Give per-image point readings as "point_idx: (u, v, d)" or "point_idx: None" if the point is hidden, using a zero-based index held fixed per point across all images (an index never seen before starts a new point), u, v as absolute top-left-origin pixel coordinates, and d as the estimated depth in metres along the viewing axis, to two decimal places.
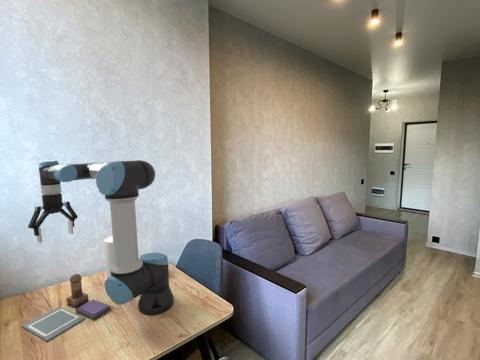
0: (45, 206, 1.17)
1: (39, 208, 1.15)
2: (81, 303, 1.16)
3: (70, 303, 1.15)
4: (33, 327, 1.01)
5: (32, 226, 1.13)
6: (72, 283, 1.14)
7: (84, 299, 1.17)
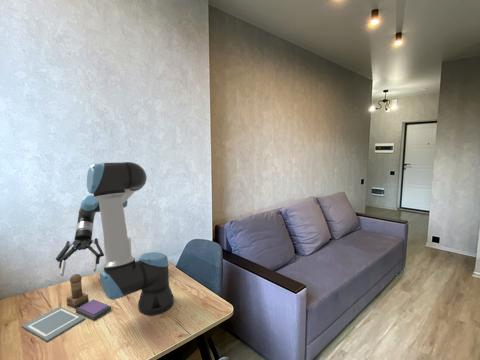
0: (74, 241, 1.29)
1: (68, 242, 1.28)
2: (81, 303, 1.16)
3: (70, 303, 1.15)
4: (33, 327, 1.01)
5: (57, 257, 1.23)
6: (72, 283, 1.14)
7: (84, 299, 1.17)
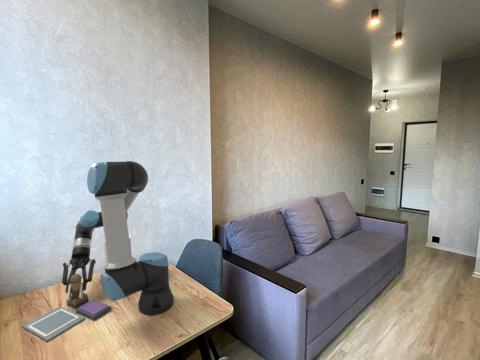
0: (70, 260, 1.22)
1: (64, 264, 1.20)
2: (81, 303, 1.16)
3: (70, 303, 1.15)
4: (33, 327, 1.01)
5: (63, 281, 1.15)
6: (72, 283, 1.14)
7: (84, 299, 1.17)
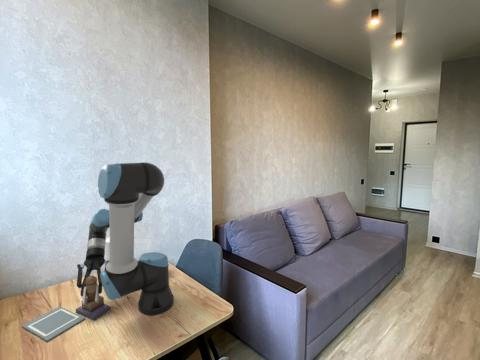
0: (84, 261, 1.16)
1: (79, 265, 1.14)
2: (97, 306, 1.10)
3: (85, 306, 1.09)
4: (33, 327, 1.01)
5: (78, 284, 1.09)
6: (87, 285, 1.08)
7: (100, 302, 1.11)
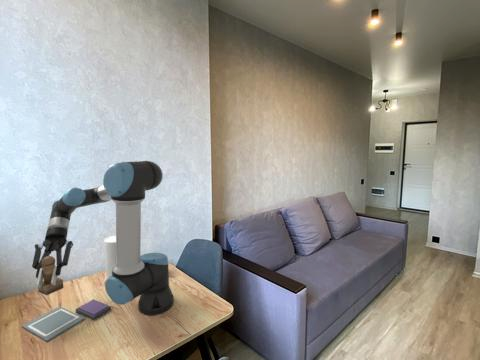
0: (43, 242, 1.07)
1: (36, 245, 1.05)
2: (54, 289, 1.01)
3: (41, 289, 1.00)
4: (33, 327, 1.01)
5: (33, 264, 1.01)
6: (44, 266, 0.99)
7: (58, 285, 1.02)
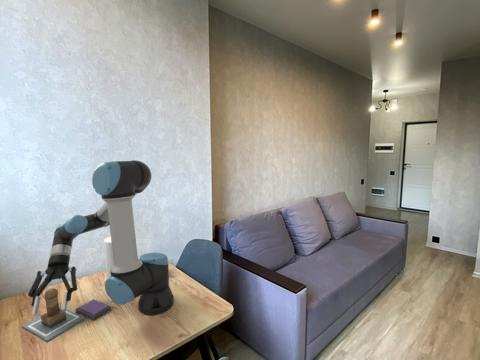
0: (46, 269, 1.08)
1: (39, 272, 1.07)
2: (57, 321, 1.03)
3: (45, 321, 1.01)
4: (33, 327, 1.01)
5: (29, 293, 1.02)
6: (47, 299, 1.01)
7: (61, 317, 1.04)
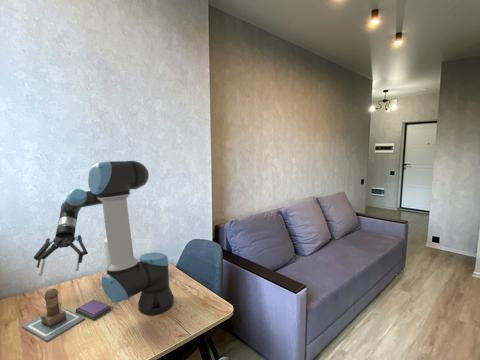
0: (54, 238, 1.19)
1: (48, 239, 1.17)
2: (57, 321, 1.03)
3: (45, 321, 1.01)
4: (33, 327, 1.01)
5: (35, 256, 1.12)
6: (47, 299, 1.01)
7: (61, 317, 1.04)
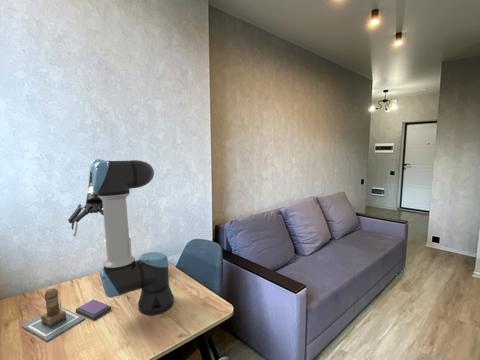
0: (85, 204, 1.30)
1: (79, 205, 1.29)
2: (57, 321, 1.03)
3: (45, 321, 1.01)
4: (33, 327, 1.01)
5: (69, 219, 1.24)
6: (47, 299, 1.01)
7: (61, 317, 1.04)
